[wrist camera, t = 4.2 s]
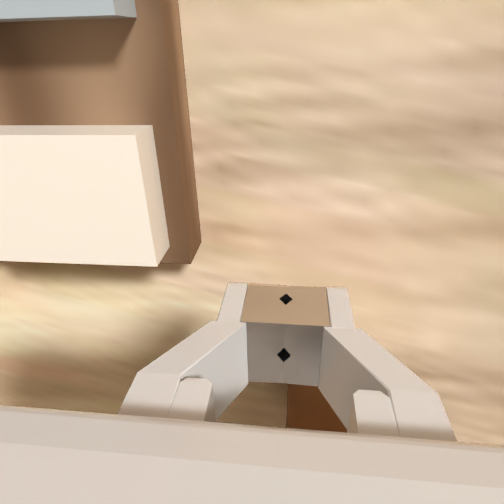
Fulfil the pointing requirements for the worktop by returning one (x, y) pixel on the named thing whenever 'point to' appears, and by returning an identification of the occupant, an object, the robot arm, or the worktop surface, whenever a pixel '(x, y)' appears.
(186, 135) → the brown wooden flat board
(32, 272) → the worktop surface
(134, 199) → the ivory block
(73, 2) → the light gray block
